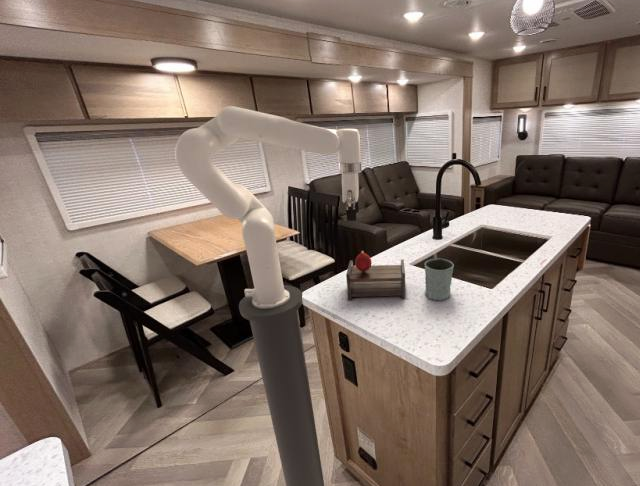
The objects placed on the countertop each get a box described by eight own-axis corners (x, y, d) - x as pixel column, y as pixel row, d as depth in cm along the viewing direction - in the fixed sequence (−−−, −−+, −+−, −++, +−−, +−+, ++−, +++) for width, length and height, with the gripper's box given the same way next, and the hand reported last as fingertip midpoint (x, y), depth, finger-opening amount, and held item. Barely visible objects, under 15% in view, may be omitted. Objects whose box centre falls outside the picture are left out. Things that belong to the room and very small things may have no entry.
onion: (375, 271, 114) (374, 251, 111) (362, 277, 111) (361, 256, 108) (365, 267, 118) (364, 246, 115) (352, 271, 115) (351, 251, 112)
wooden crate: (348, 300, 112) (346, 274, 108) (351, 284, 123) (349, 260, 119) (405, 298, 113) (405, 273, 109) (403, 283, 124) (403, 259, 120)
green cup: (424, 301, 111) (425, 270, 107) (422, 287, 121) (423, 257, 116) (453, 301, 111) (455, 270, 106) (449, 287, 120) (451, 257, 116)
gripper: (342, 164, 116) (345, 210, 123) (335, 171, 100) (339, 224, 107) (362, 164, 116) (365, 210, 123) (359, 171, 100) (361, 223, 107)
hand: (353, 216), depth 115 cm, fingers open, 9 cm apart
